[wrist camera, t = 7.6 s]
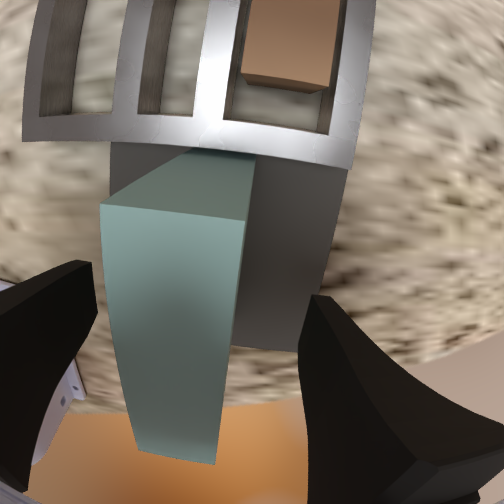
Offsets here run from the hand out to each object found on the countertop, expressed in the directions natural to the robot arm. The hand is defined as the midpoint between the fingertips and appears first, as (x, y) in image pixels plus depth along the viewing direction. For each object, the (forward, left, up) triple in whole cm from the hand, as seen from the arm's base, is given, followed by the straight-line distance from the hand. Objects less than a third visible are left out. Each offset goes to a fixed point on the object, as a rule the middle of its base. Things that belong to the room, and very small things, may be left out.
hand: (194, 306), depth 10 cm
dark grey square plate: (0, 0, -5) cm, 5 cm away
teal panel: (0, 0, -5) cm, 5 cm away
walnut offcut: (+10, -2, -5) cm, 11 cm away
